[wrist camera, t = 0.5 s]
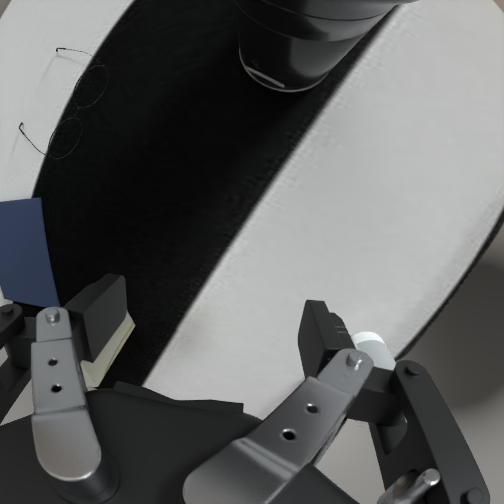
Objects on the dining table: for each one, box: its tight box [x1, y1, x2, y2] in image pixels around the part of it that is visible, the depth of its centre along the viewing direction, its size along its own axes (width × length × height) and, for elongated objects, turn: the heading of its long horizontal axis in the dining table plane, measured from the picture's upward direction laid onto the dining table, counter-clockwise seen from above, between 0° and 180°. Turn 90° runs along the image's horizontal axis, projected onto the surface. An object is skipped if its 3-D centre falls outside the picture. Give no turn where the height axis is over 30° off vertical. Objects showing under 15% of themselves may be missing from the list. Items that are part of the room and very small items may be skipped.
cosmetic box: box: [80, 311, 135, 388], centre depth 28 cm, size 6×4×12 cm
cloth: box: [0, 198, 60, 308], centre depth 31 cm, size 16×14×1 cm
